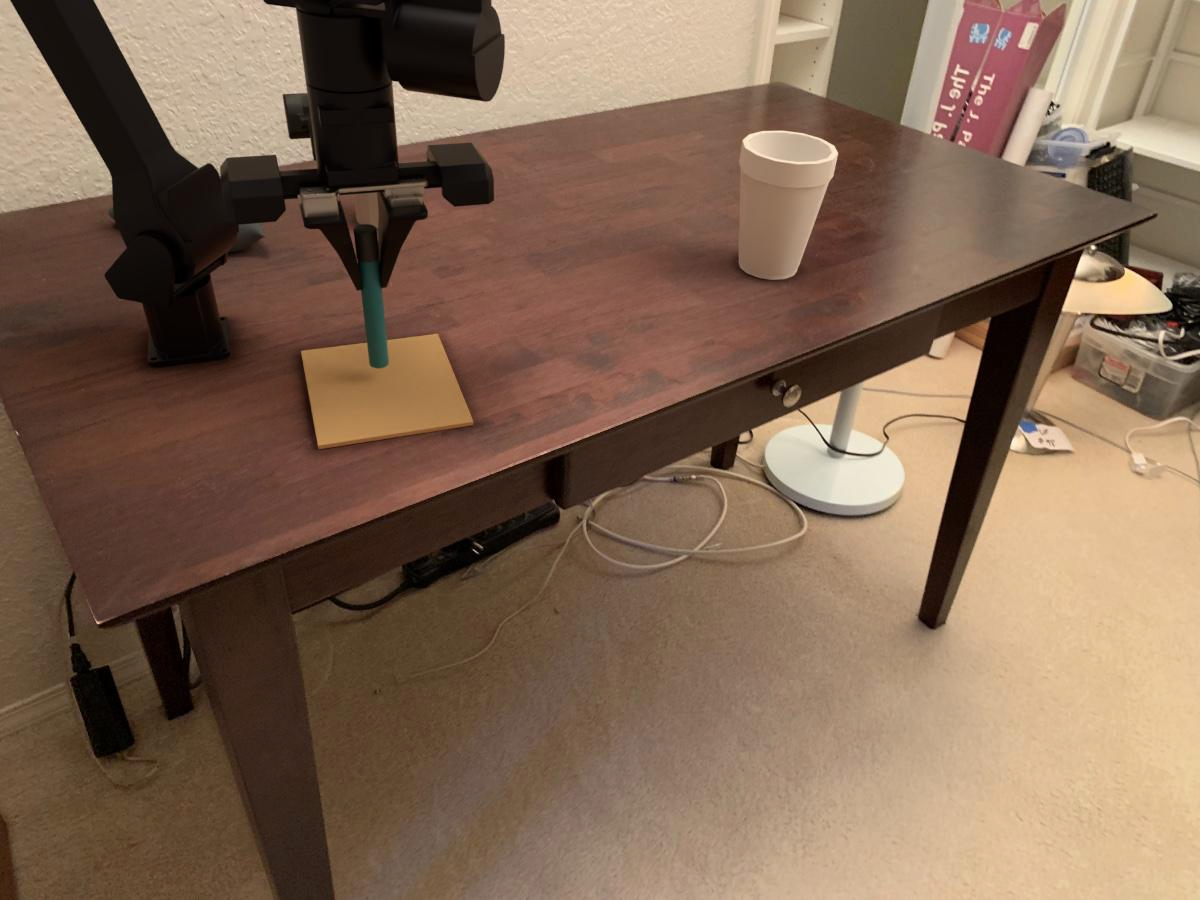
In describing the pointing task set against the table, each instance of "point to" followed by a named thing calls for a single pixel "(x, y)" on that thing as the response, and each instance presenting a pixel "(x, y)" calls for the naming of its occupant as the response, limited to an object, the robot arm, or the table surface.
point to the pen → (372, 294)
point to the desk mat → (382, 392)
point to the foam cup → (780, 199)
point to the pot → (366, 208)
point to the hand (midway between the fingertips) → (371, 286)
